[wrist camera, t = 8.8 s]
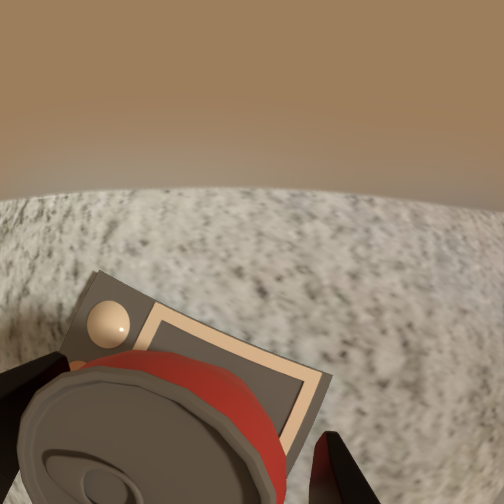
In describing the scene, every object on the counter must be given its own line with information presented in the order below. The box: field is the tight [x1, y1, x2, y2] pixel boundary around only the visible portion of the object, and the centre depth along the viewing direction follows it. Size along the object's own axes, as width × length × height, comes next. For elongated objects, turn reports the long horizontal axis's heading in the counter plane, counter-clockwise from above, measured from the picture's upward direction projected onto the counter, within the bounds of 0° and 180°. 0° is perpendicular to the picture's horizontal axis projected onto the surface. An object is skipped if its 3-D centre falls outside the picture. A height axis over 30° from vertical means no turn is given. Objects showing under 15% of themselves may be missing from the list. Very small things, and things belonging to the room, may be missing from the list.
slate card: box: [59, 270, 333, 479], centre depth 15 cm, size 10×16×1 cm, turn 67°
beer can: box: [16, 350, 286, 504], centre depth 9 cm, size 7×7×12 cm
